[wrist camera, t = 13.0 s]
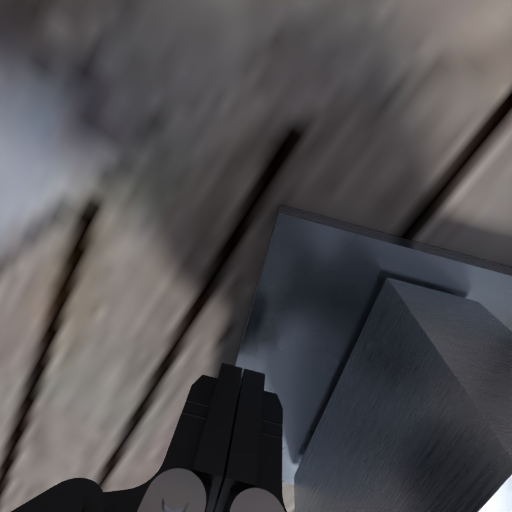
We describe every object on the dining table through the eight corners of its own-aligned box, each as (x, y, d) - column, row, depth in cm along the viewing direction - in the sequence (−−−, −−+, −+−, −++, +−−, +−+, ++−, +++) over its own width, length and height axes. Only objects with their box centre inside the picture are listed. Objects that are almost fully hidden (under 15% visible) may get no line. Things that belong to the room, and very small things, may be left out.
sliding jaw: (294, 475, 14) (301, 788, 7) (386, 277, 10) (582, 560, 3) (360, 493, 14) (427, 820, 7) (478, 301, 10) (848, 630, 3)
